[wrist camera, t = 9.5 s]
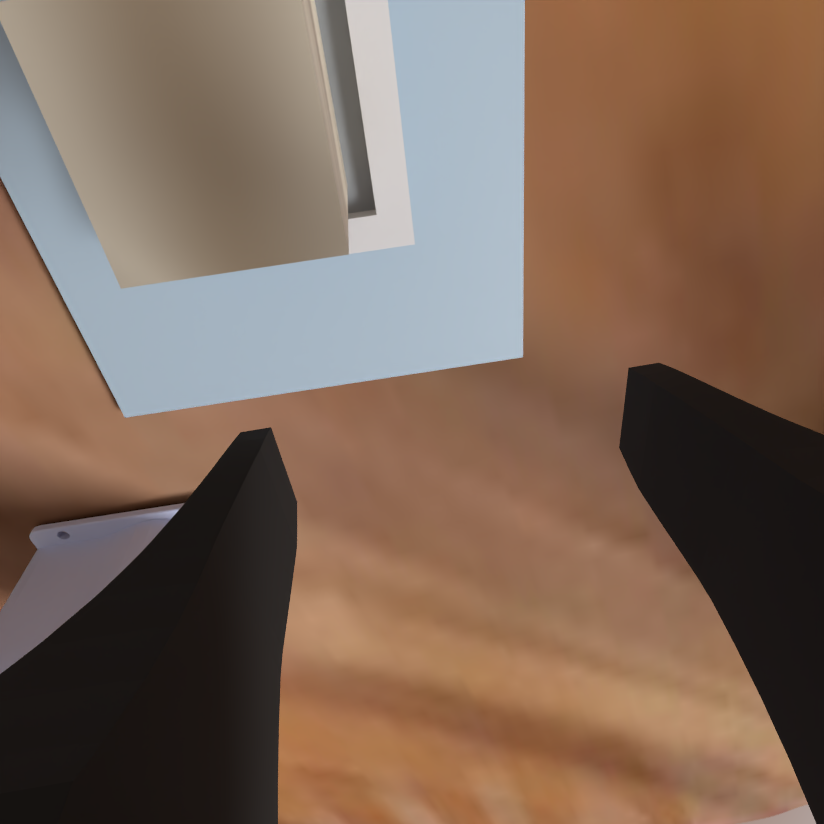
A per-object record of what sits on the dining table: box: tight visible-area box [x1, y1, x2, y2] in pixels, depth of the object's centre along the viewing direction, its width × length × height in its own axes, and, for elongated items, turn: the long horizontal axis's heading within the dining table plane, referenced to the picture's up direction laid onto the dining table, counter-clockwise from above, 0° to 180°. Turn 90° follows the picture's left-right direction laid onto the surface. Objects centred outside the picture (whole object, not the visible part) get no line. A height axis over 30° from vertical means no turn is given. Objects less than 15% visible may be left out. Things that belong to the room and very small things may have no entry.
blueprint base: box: [0, 0, 525, 418], centre depth 15 cm, size 16×20×3 cm
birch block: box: [0, 0, 349, 289], centre depth 12 cm, size 4×4×6 cm
